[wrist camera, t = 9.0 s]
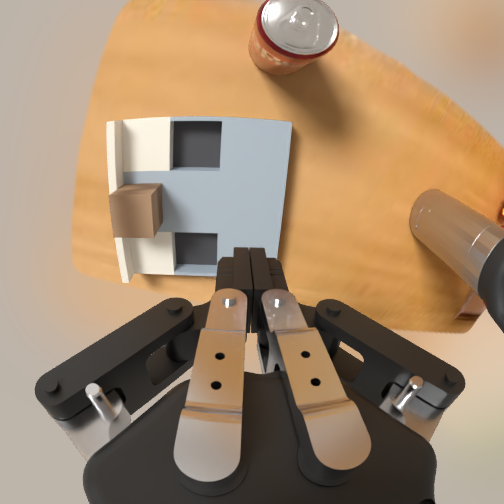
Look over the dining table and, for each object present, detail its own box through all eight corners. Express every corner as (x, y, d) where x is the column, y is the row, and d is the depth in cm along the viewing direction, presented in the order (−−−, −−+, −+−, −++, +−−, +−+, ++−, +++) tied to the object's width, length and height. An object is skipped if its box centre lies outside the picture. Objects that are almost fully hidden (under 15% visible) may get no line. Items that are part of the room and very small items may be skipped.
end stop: (122, 120, 28) (114, 121, 25) (134, 273, 37) (129, 283, 35) (115, 120, 28) (106, 121, 25) (127, 272, 37) (122, 282, 35)
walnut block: (161, 183, 32) (151, 194, 27) (163, 221, 34) (153, 238, 30) (123, 183, 31) (108, 195, 27) (127, 221, 34) (113, 237, 29)
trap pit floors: (222, 120, 31) (222, 120, 31) (217, 264, 41) (217, 265, 40) (174, 120, 31) (173, 120, 30) (176, 262, 40) (176, 263, 40)
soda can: (289, 86, 30) (318, 73, 19) (237, 59, 28) (240, 32, 17) (316, 43, 27) (354, 17, 16) (265, 16, 25) (282, -24, 14)
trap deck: (288, 121, 32) (292, 122, 30) (271, 268, 42) (274, 277, 39) (122, 119, 30) (115, 120, 28) (132, 264, 39) (127, 272, 37)
